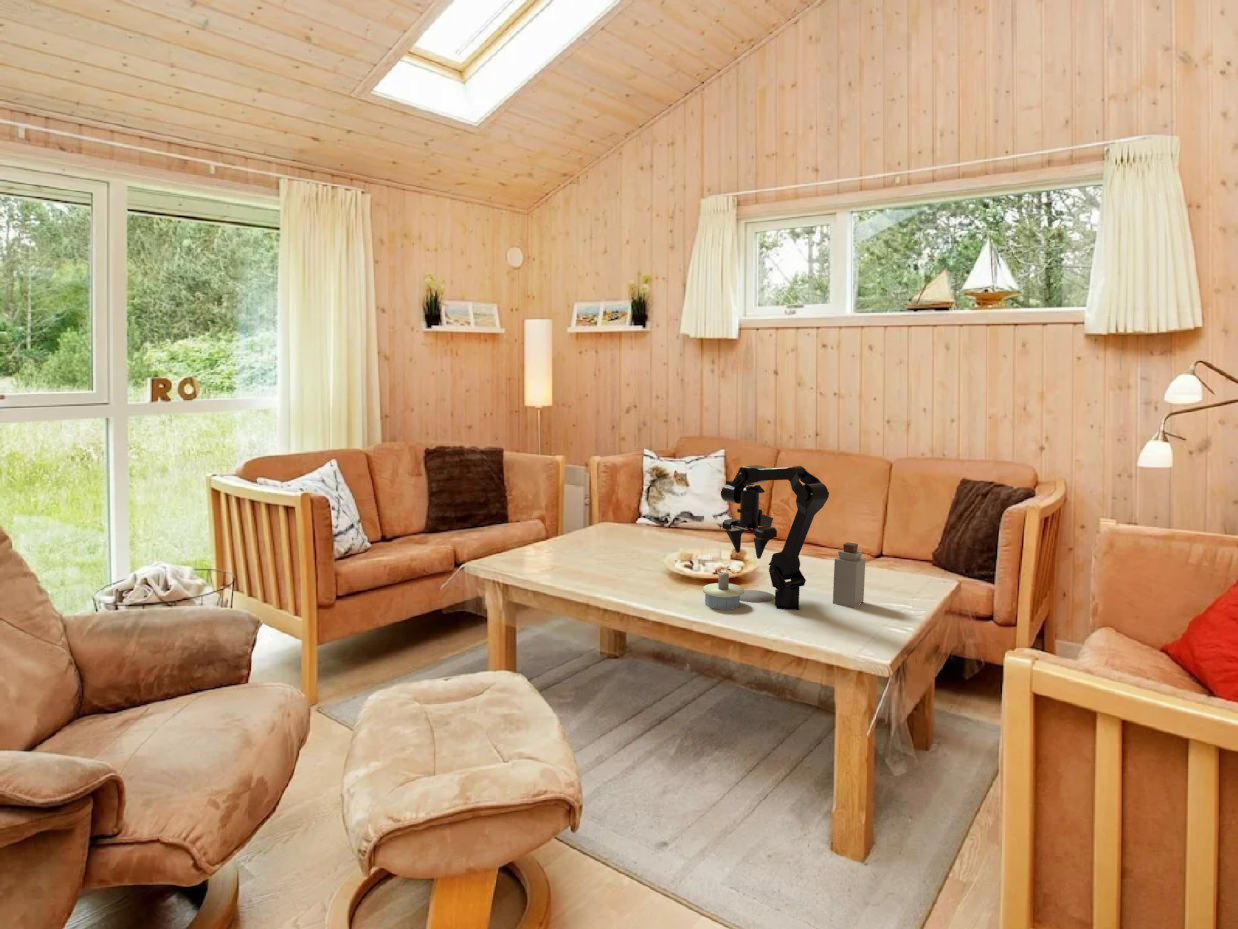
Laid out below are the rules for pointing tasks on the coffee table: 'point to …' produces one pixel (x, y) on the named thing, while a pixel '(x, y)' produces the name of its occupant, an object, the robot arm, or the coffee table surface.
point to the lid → (723, 588)
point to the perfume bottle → (849, 576)
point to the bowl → (722, 602)
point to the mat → (756, 596)
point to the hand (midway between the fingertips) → (748, 555)
